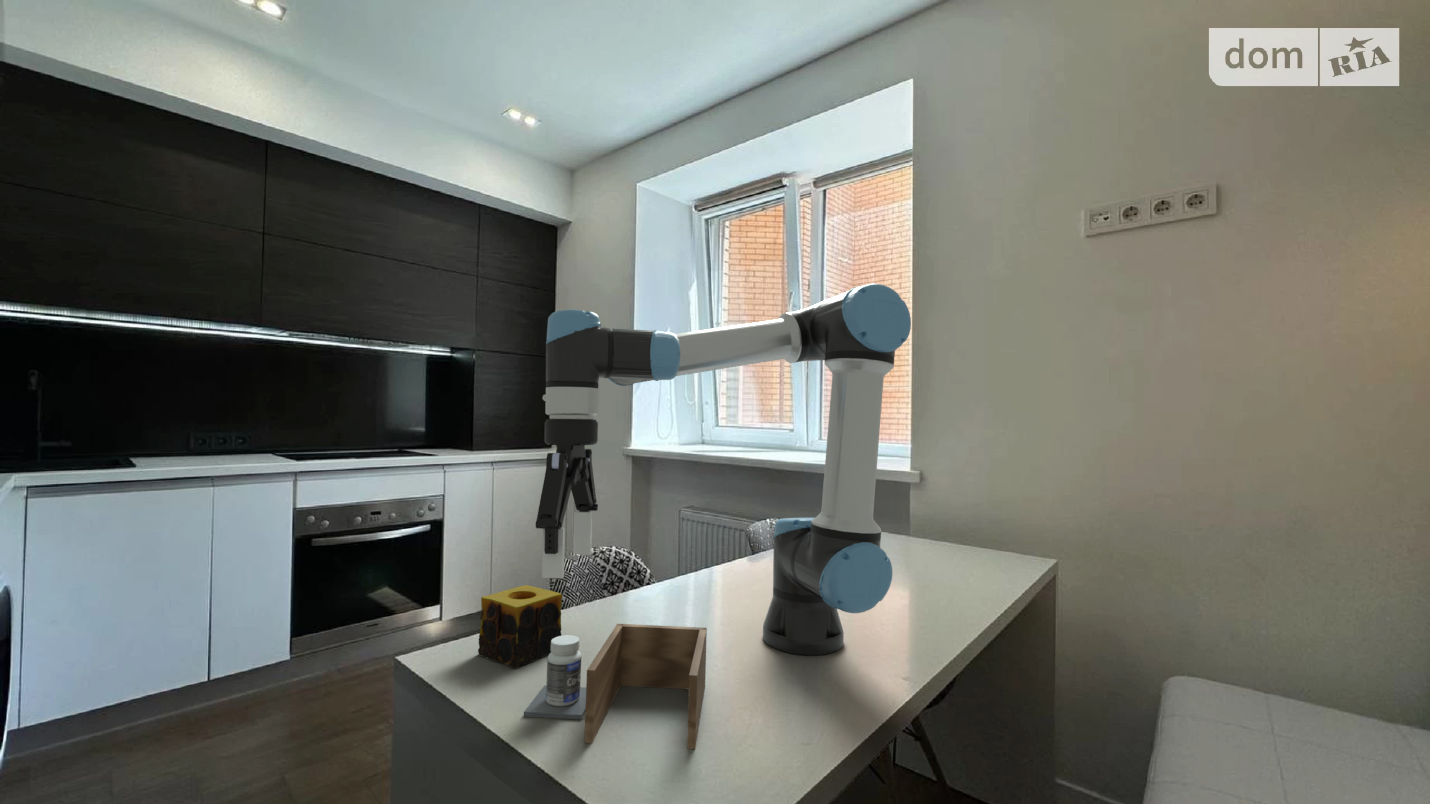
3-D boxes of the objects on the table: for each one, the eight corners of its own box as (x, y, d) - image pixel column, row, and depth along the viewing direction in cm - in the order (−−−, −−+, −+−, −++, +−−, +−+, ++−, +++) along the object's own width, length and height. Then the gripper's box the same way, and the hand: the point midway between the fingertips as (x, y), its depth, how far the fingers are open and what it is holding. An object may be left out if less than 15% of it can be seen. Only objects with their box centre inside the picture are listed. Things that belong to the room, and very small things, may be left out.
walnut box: (705, 687, 88) (706, 627, 89) (695, 749, 71) (697, 675, 72) (615, 682, 89) (617, 623, 90) (584, 742, 72) (586, 669, 73)
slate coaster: (596, 692, 86) (596, 688, 86) (581, 719, 78) (581, 714, 78) (544, 689, 86) (544, 685, 86) (523, 716, 78) (523, 711, 78)
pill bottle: (571, 709, 79) (573, 647, 80) (539, 705, 80) (541, 644, 81) (585, 693, 84) (587, 635, 84) (555, 689, 85) (557, 632, 85)
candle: (514, 670, 93) (517, 608, 93) (475, 655, 98) (478, 596, 98) (562, 650, 101) (564, 593, 102) (524, 637, 107) (526, 583, 107)
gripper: (572, 418, 96) (569, 545, 96) (511, 416, 71) (507, 588, 71) (616, 418, 96) (614, 546, 95) (570, 417, 71) (567, 590, 70)
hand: (568, 564), depth 83 cm, fingers open, 13 cm apart
